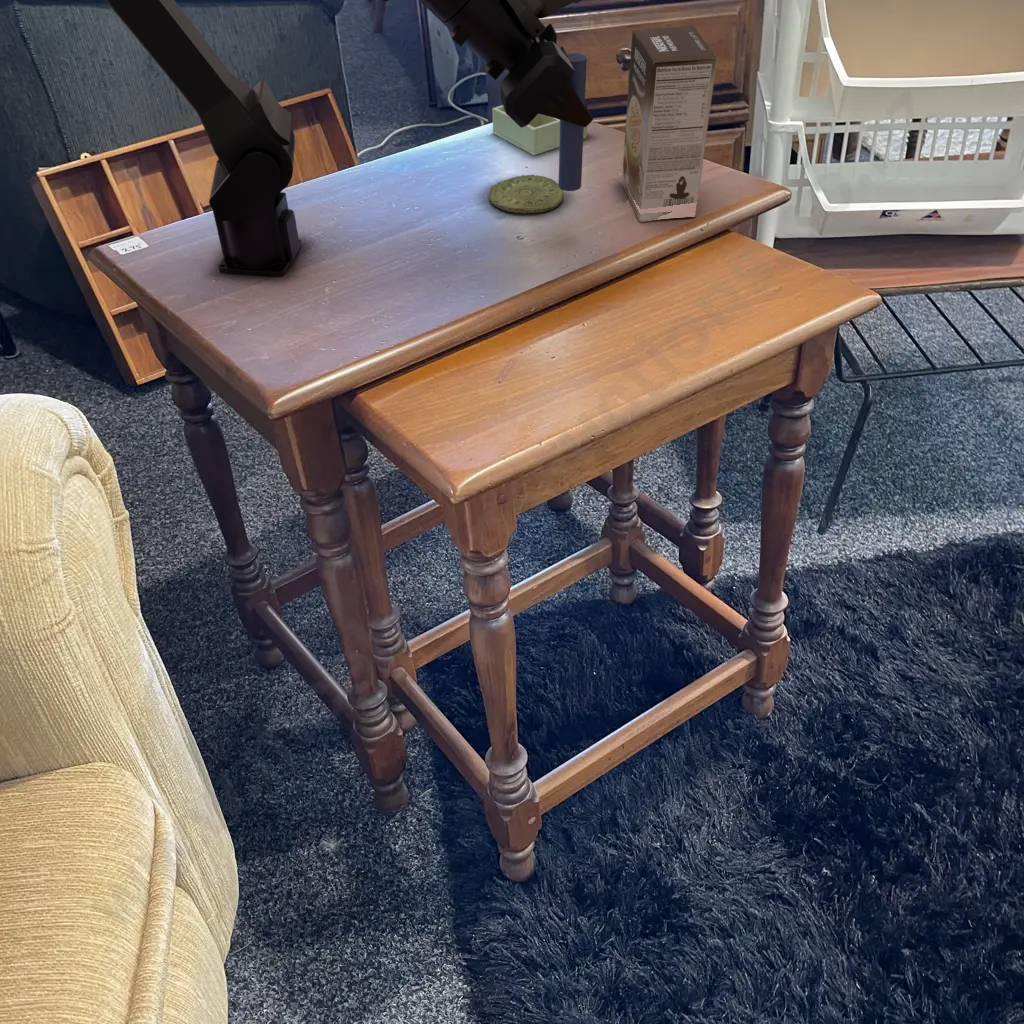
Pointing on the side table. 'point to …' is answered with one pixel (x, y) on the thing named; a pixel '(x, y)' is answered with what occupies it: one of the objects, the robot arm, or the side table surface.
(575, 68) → the tall navy cylinder rod
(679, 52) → the coffee box
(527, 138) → the grid
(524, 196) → the medallion
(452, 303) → the side table surface
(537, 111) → the robot arm
